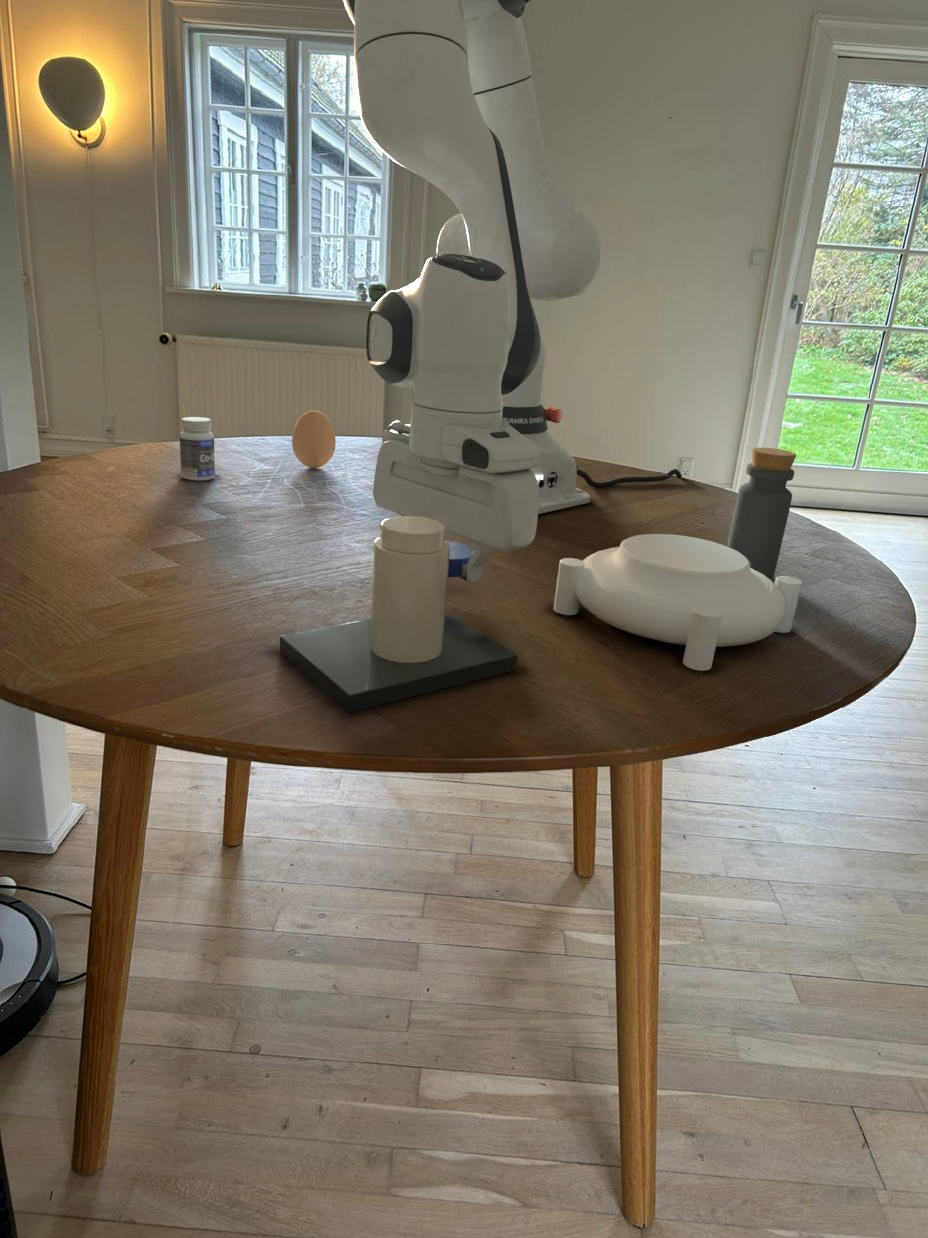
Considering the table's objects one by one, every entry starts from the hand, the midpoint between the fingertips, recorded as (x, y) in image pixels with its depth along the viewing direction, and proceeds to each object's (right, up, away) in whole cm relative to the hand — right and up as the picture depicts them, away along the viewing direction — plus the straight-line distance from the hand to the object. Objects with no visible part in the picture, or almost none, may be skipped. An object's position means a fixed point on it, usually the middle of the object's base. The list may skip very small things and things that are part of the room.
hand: (444, 569), depth 88 cm
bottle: (+35, 0, +12) cm, 37 cm away
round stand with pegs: (+23, -5, -2) cm, 24 cm away
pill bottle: (-37, +15, +36) cm, 53 cm away
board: (-4, -9, -17) cm, 19 cm away
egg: (-22, +19, +47) cm, 55 cm away
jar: (-3, -7, -18) cm, 19 cm away
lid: (0, +2, -1) cm, 2 cm away
